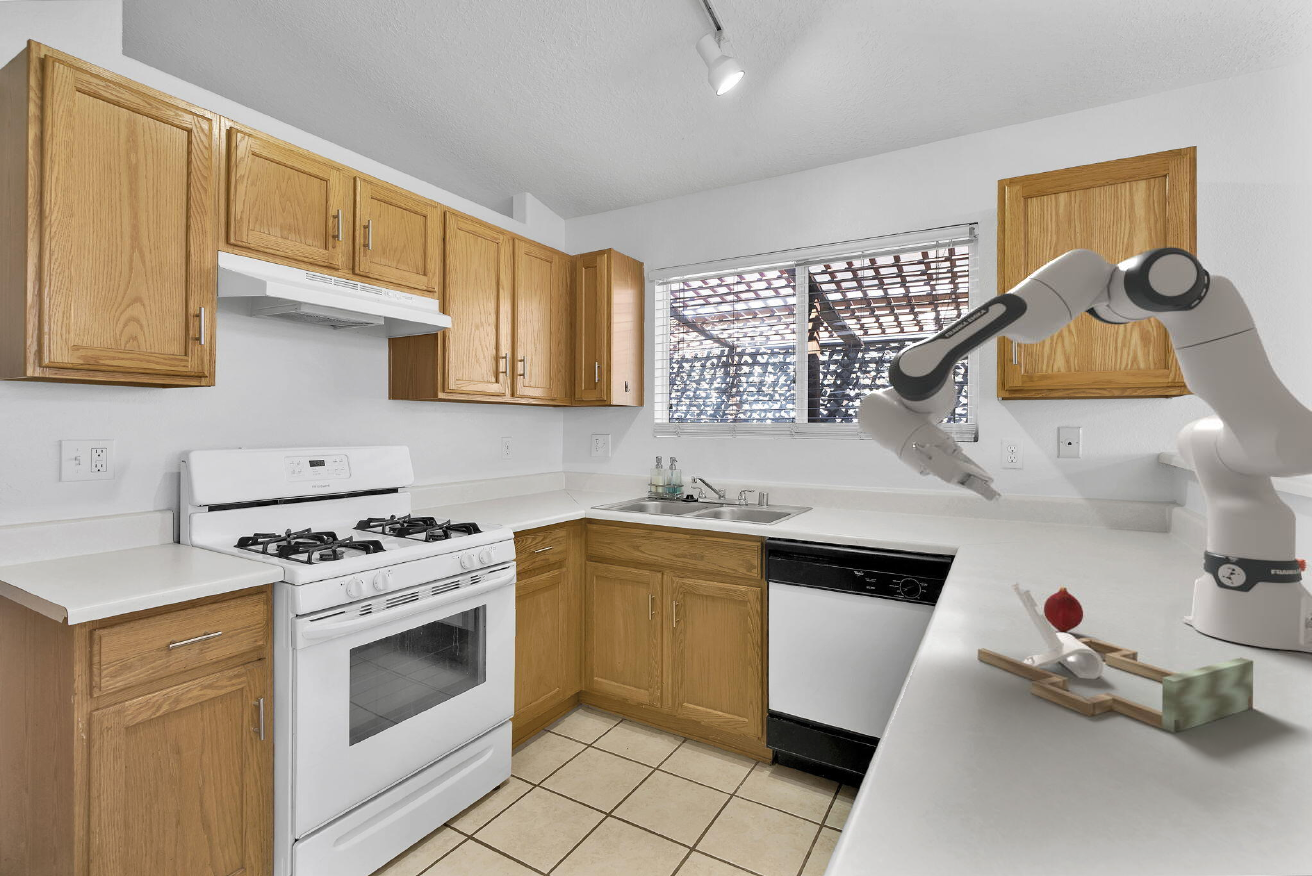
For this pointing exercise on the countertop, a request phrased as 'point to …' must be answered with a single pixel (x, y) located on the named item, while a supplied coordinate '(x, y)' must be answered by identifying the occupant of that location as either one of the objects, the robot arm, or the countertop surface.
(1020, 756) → the countertop surface
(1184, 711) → the trap lane
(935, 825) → the countertop surface
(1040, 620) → the plastic part
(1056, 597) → the onion
